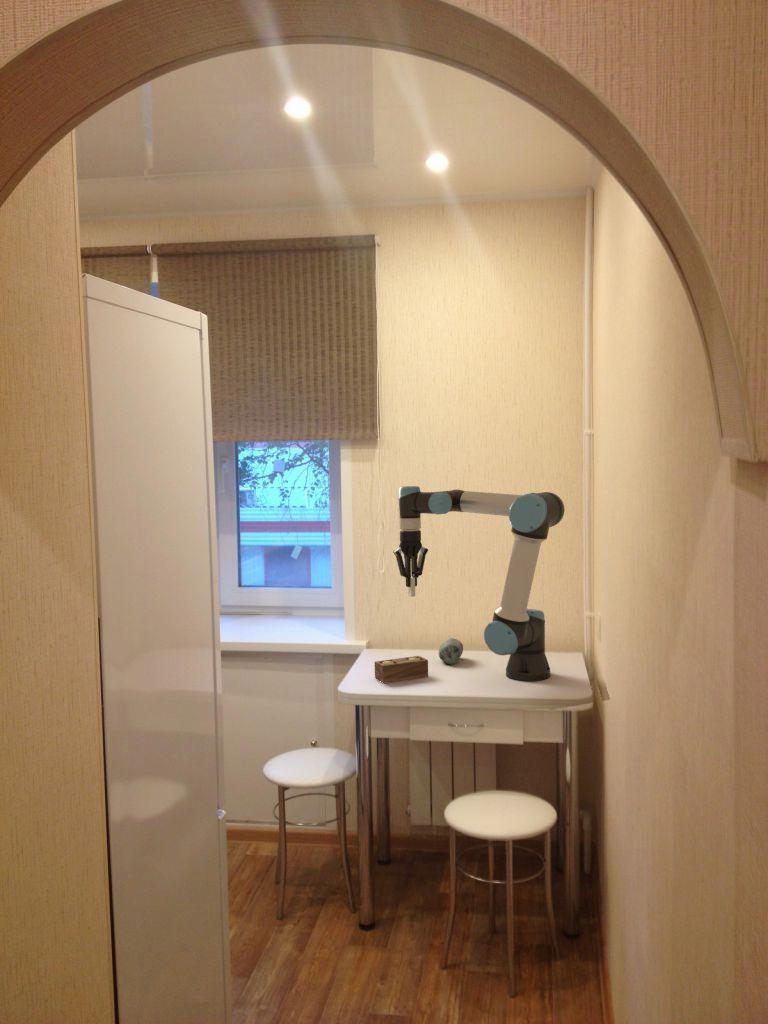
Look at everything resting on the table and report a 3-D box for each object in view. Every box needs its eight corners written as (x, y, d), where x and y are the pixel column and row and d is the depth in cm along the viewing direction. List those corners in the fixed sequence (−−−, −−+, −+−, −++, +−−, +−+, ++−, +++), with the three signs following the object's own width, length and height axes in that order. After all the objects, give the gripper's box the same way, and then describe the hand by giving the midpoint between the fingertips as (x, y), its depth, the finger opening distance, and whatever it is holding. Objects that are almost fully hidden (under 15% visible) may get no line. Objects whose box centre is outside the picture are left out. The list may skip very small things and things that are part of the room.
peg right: (422, 673, 310) (422, 659, 309) (412, 675, 308) (411, 660, 307) (417, 671, 313) (416, 657, 313) (406, 672, 311) (406, 658, 311)
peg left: (396, 677, 305) (395, 663, 305) (385, 678, 304) (385, 664, 303) (391, 674, 309) (390, 660, 309) (380, 676, 307) (380, 662, 307)
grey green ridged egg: (464, 658, 321) (452, 632, 324) (441, 669, 323) (429, 644, 326) (472, 658, 334) (460, 634, 337) (449, 669, 336) (438, 645, 339)
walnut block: (428, 676, 309) (427, 659, 308) (383, 683, 302) (383, 665, 301) (419, 672, 315) (418, 655, 315) (375, 678, 308) (374, 661, 308)
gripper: (421, 527, 323) (423, 592, 325) (389, 530, 317) (390, 596, 319) (431, 529, 316) (432, 595, 318) (398, 531, 311) (399, 599, 312)
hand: (411, 595), depth 318 cm, fingers closed
